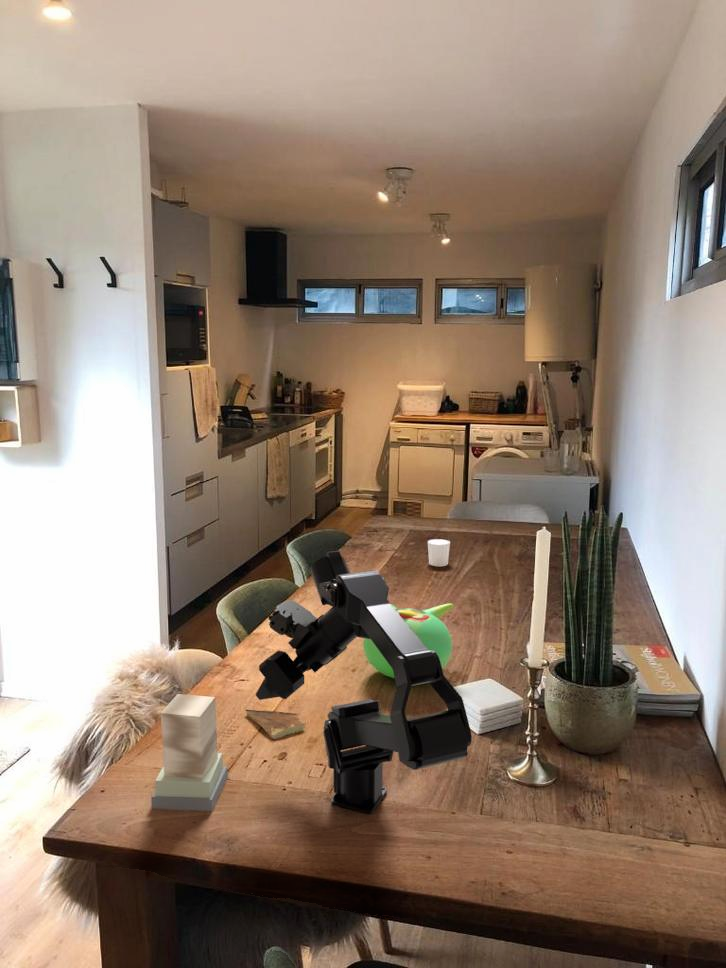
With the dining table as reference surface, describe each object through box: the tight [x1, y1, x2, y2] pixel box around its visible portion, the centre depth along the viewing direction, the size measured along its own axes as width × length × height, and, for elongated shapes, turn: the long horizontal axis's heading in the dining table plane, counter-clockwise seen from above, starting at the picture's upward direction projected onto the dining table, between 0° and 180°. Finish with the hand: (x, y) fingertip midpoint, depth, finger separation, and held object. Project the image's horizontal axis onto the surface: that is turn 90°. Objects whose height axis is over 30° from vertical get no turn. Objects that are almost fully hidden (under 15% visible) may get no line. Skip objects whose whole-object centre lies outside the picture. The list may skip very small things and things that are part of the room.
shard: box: [245, 709, 306, 740], centre depth 138 cm, size 11×8×2 cm
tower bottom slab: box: [150, 765, 229, 813], centre depth 116 cm, size 9×9×2 cm
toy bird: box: [362, 603, 454, 679], centre depth 155 cm, size 18×17×15 cm
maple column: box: [160, 693, 219, 780], centre depth 114 cm, size 6×6×10 cm
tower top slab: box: [154, 752, 224, 798], centre depth 115 cm, size 8×8×2 cm
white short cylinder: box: [427, 538, 451, 568], centre depth 233 cm, size 7×7×7 cm
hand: (273, 684), depth 122 cm, fingers open, 9 cm apart
